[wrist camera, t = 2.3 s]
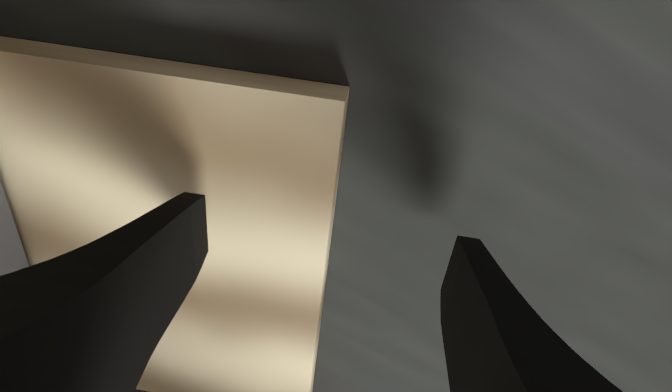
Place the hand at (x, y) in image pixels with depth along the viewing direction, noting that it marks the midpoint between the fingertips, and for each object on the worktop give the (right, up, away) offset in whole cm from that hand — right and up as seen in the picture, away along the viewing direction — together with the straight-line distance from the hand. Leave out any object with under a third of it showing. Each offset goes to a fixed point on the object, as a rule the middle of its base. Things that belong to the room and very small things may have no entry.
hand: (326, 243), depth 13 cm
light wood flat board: (-11, 0, +4) cm, 12 cm away
